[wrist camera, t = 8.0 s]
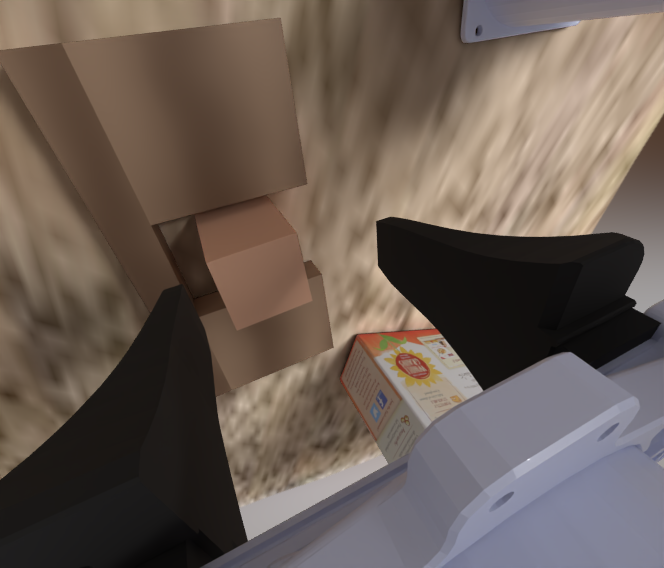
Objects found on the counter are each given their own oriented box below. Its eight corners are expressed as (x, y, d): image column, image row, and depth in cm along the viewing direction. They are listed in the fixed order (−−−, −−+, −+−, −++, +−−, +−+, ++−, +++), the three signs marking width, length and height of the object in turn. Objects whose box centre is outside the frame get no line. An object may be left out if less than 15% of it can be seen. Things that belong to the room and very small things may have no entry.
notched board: (268, 22, 15) (280, 17, 13) (323, 331, 27) (333, 347, 25) (13, 52, 12) (-7, 51, 11) (200, 380, 24) (203, 402, 23)
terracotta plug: (263, 191, 19) (296, 232, 14) (279, 250, 21) (312, 300, 17) (193, 212, 18) (205, 263, 13) (219, 271, 20) (236, 331, 16)
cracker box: (336, 381, 31) (522, 710, 15) (355, 330, 28) (603, 665, 13) (440, 366, 38) (644, 584, 22) (464, 324, 35) (714, 537, 19)
